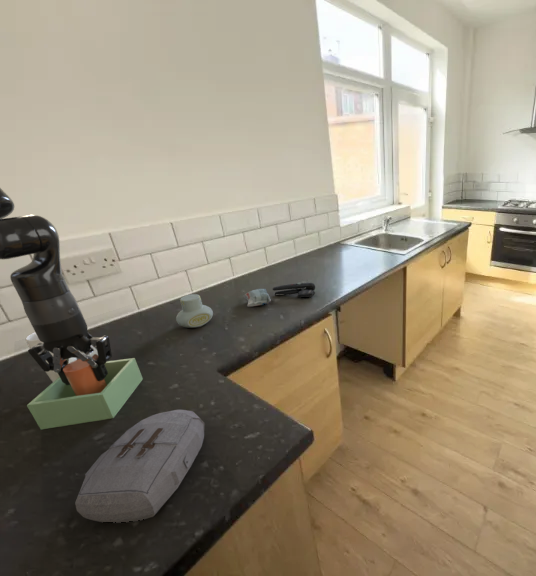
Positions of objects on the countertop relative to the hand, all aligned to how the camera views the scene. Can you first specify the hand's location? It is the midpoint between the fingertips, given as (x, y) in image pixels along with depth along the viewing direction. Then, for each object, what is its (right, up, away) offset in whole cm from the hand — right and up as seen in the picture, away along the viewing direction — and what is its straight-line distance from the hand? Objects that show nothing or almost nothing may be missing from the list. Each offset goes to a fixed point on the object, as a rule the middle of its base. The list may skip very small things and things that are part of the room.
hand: (87, 380), depth 72 cm
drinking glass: (-12, -4, +9) cm, 15 cm away
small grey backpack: (+27, -12, -14) cm, 33 cm away
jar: (0, -3, +1) cm, 3 cm away
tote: (0, -6, +2) cm, 6 cm away
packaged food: (+18, +15, +51) cm, 56 cm away
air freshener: (+3, +9, +37) cm, 38 cm away
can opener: (+31, +18, +57) cm, 68 cm away
